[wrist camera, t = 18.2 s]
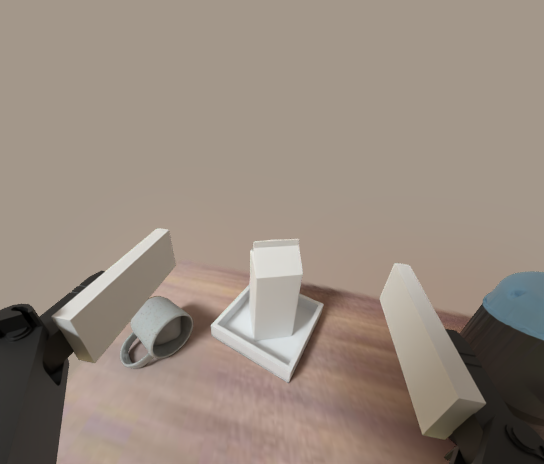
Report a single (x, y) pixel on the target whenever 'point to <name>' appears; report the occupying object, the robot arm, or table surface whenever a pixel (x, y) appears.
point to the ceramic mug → (157, 330)
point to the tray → (270, 352)
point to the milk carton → (274, 287)
